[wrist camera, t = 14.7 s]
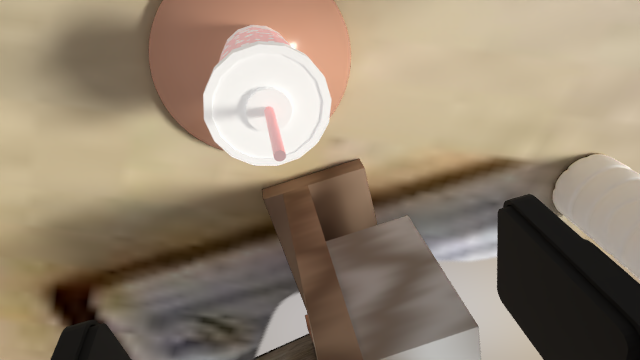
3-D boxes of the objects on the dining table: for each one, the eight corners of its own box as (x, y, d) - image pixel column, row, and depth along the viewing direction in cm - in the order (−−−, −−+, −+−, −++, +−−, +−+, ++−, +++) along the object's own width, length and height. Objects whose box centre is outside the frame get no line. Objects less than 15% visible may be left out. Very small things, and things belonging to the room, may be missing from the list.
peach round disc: (271, -98, 25) (273, -99, 24) (381, 79, 31) (385, 82, 31) (104, 41, 27) (100, 44, 26) (240, 181, 33) (240, 186, 33)
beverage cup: (319, 77, 30) (382, 175, 18) (242, 122, 30) (253, 246, 18) (273, -8, 27) (312, 42, 15) (188, 43, 27) (159, 132, 15)
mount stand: (377, 153, 34) (518, 361, 18) (408, 305, 44) (519, 534, 27) (262, 189, 34) (296, 436, 18) (318, 334, 44) (375, 585, 27)
